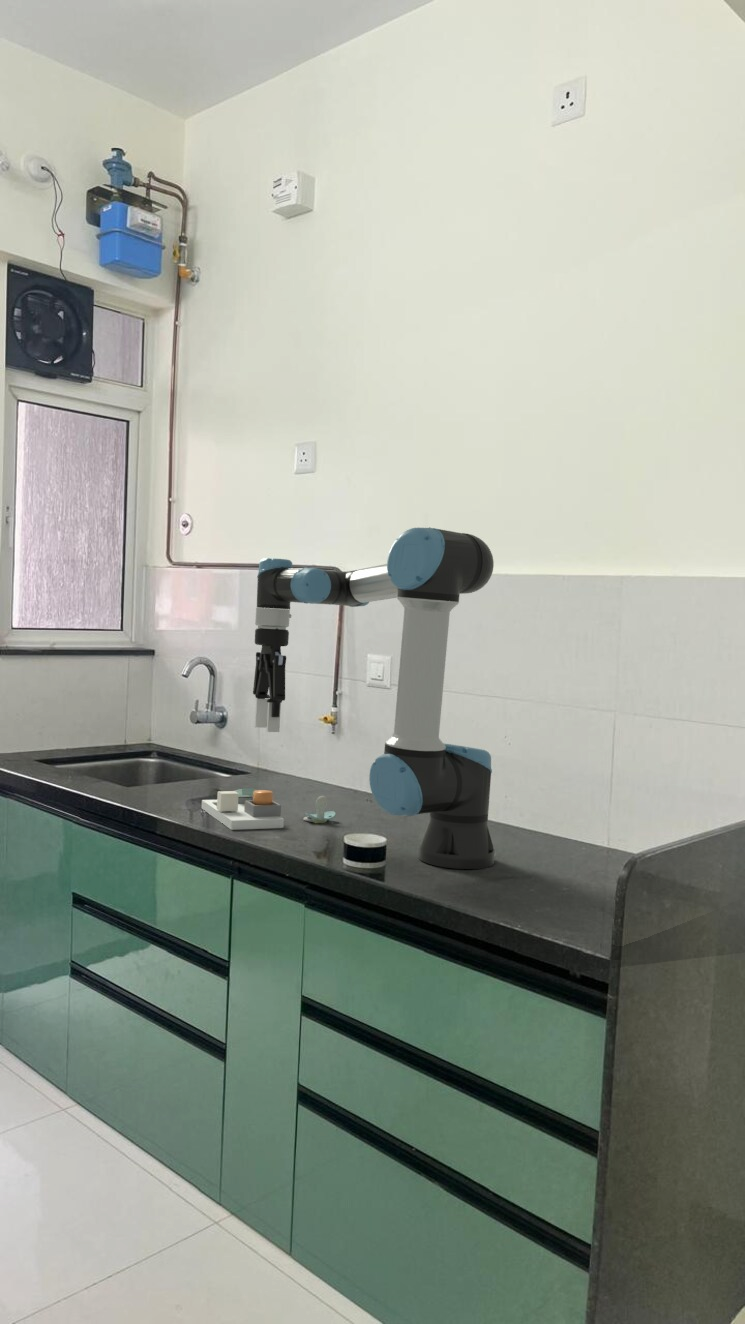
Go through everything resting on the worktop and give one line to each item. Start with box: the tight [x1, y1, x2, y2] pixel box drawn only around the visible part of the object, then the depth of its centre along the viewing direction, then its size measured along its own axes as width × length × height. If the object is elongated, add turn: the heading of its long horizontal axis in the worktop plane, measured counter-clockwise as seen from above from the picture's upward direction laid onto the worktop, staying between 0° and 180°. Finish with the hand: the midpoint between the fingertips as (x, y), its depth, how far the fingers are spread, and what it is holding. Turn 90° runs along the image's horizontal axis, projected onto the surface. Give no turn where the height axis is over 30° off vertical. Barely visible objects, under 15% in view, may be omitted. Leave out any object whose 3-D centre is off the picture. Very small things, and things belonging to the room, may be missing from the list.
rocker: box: [234, 787, 257, 797], centre depth 239 cm, size 6×4×1 cm, turn 25°
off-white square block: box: [216, 790, 239, 812], centre depth 228 cm, size 3×4×4 cm
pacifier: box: [303, 795, 336, 824], centre depth 233 cm, size 7×6×6 cm
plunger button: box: [252, 789, 274, 805], centre depth 228 cm, size 4×4×3 cm
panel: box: [201, 796, 285, 831], centre depth 232 cm, size 24×12×4 cm, turn 25°
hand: (266, 729), depth 227 cm, fingers open, 8 cm apart
